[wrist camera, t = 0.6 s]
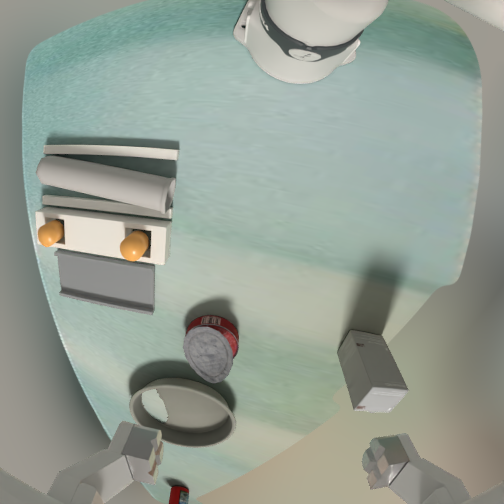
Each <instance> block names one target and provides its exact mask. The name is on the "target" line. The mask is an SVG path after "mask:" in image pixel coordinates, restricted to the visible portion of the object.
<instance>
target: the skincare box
mask: <svg viewBox="0 0 504 504" xmlns="http://www.w3.org/2000/svg"><path fill="white" fill-rule="evenodd" d="M337 354H338V357H339V361H340V364H341V367H342V371H343V374H344V377H345V381H346V384H347V388H348V391H349V394H350V398H351V402H352V405H353V409H354V410H359V411H368V412H370V413H374V412H390V411H391V410H392V409H393V408H394V407H395V406H396V405H397V404H398V402H399V401H400V400H401V399H402V398H403V397H404V396H405V395H406V393H407V392H408V388H407V386H406V384H405V382H404V379H403V377H402V375H401V373H400V371H399V369H398V367H397V365H396V362H395V360H394V358H393V356H392V354H391V352H390V350H389V348H388V346H387V344H386V342H385V340H384V338H383V336H382V335H376V334H371V333H366V332H361V331H355V330H350V331H349V333H348V335H347V337H346V338H345V340H344V342H343V343H342V345H341V347H340V349H339V350H338V352H337Z"/></svg>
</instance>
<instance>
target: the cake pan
mask: <svg viewBox="0 0 504 504" xmlns="http://www.w3.org/2000/svg"><path fill="white" fill-rule="evenodd" d="M151 389H156V390H157V393H158V394H159V397H160V398H161V399H162V400H163V401H164V404H165V407H166V410H167V413H168V417H167V418H168V420H167V422H166V423H160V422H159V421H157V420H155V419H154V418H153V417H152V416H151V415H150V414H149V413H148V412H147V411H146V409H145V408H144V405H143V403H142V393H143V392H145V391H148V390H151ZM129 407H130V413H131V415H132V417H133V419H134V420H135V422H136V423H137V424H138V425H141V426H145V427H149V428H153V429H157V430H161V433H162V437H161V440H162V441H164V442H167V443H170V444H173V445H178V446H183V447H193V448H199V447H209V446H213V445H217V444H220V443H222V442H224V441H225V440H227V439H228V438H230V437H231V436H232V434H233V433H234V431H235V428H236V420H235V417H234V415H233V413H232V412H231V410H230V409H229V406H228V404H227V402H226V400H225V399H224V398H223V397H222V396H221V395H220V394H219V393H218V392H217V391H215V390H214V389H212V388H210V387H209V386H206V385H204V384H202V383H199V382H196V381H193V380H189V379H183V378H162V379H158V380H155V381H152V382H150V383H149V384H147V385H146V386H145V387H144V388H143V389H141V390H139V391H137V392H136V393H135V394H134V395H133V396H132V398H131V400H130V404H129Z"/></svg>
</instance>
